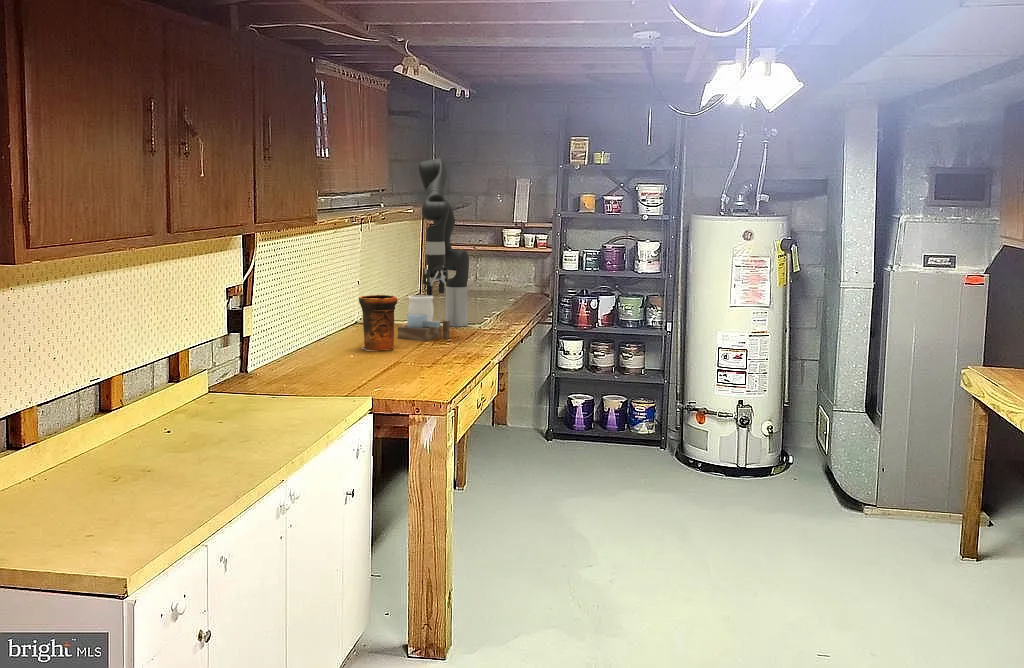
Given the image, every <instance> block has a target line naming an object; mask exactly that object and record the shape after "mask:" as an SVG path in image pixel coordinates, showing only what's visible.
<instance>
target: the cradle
mask: <svg viewBox="0 0 1024 668" xmlns="http://www.w3.org/2000/svg"><path fill="white" fill-rule="evenodd" d="M439 338H442V340H446V341H447V340H450V326H449V321H446V320H443V321H442V325H440V327H438V328H436V327H428V326H427V328H424V329H420V328H410V327H407V324H406V325H402V326H397V337H396V339H399V340H408V341H415V342H417V341H418V342H427V341H431V340H435V339H439Z"/></svg>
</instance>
